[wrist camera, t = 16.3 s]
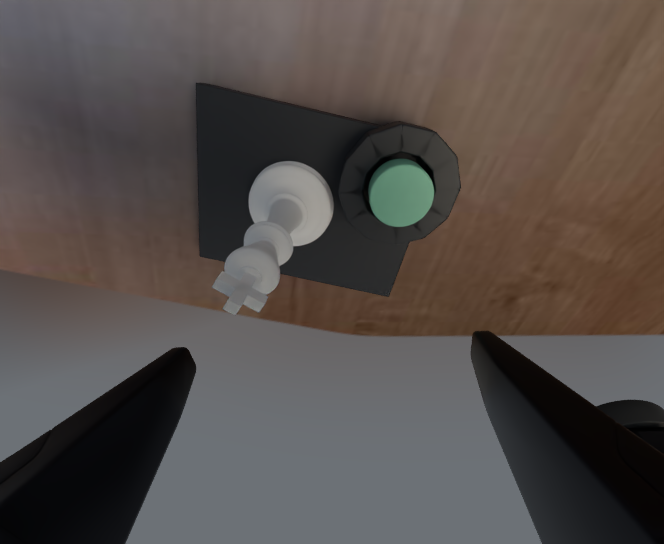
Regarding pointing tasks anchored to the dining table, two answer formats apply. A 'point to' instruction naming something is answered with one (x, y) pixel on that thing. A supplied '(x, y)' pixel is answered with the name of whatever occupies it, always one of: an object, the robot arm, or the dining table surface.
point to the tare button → (400, 192)
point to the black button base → (332, 164)
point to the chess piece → (275, 231)
